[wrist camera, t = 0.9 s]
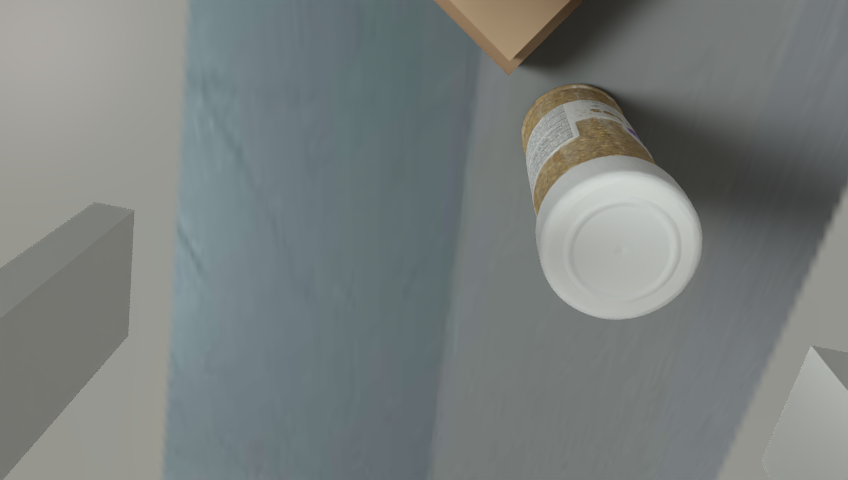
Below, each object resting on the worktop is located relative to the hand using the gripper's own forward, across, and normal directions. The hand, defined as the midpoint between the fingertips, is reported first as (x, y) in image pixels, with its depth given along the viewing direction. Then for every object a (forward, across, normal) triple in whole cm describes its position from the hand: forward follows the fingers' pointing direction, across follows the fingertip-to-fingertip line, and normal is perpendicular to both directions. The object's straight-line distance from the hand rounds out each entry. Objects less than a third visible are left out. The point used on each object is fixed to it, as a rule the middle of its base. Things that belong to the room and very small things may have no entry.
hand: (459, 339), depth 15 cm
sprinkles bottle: (+21, +4, 0) cm, 21 cm away
